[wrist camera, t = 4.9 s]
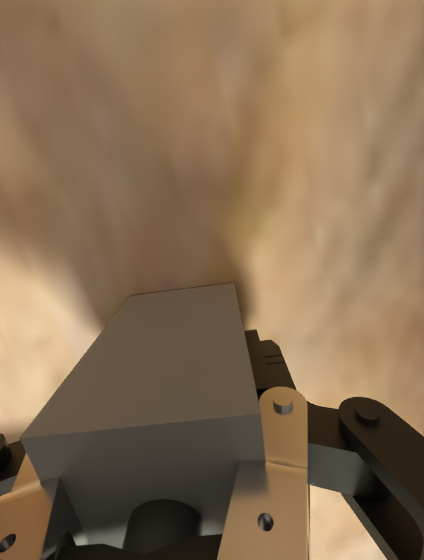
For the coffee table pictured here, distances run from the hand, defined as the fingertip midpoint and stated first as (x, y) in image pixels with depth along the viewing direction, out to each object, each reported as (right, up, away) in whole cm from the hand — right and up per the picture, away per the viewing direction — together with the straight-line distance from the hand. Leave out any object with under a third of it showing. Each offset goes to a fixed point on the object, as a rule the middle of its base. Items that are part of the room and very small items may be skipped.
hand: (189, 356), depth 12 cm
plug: (0, 0, +1) cm, 1 cm away
